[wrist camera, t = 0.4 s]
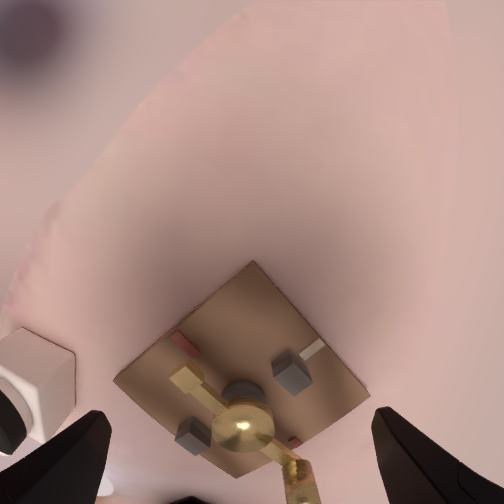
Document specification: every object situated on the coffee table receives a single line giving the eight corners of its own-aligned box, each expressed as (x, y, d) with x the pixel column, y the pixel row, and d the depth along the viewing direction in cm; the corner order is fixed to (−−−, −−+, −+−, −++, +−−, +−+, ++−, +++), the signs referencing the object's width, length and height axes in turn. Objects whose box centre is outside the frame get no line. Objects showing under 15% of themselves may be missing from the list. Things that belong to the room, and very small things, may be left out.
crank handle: (282, 475, 21) (289, 524, 15) (159, 379, 19) (135, 430, 13) (324, 451, 21) (339, 500, 15) (203, 346, 19) (189, 395, 13)
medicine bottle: (21, 325, 23) (-57, 373, 11) (76, 352, 23) (2, 423, 11) (25, 380, 24) (-36, 435, 12) (76, 407, 24) (22, 479, 12)
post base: (236, 470, 25) (235, 497, 21) (117, 374, 23) (101, 397, 20) (366, 389, 24) (381, 412, 20) (253, 260, 22) (255, 270, 18)
